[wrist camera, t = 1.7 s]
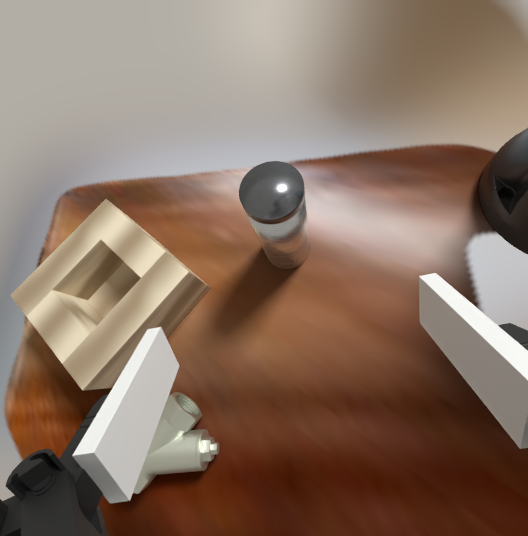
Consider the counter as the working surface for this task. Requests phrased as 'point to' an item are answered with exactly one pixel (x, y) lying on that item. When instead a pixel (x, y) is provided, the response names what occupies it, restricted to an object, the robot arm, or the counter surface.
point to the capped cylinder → (277, 212)
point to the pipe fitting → (177, 442)
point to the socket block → (106, 295)
